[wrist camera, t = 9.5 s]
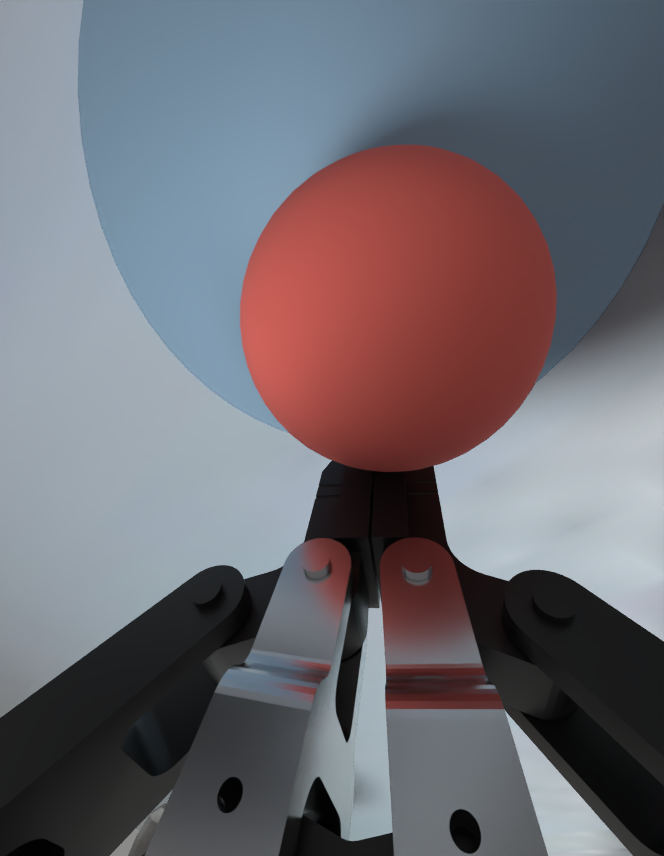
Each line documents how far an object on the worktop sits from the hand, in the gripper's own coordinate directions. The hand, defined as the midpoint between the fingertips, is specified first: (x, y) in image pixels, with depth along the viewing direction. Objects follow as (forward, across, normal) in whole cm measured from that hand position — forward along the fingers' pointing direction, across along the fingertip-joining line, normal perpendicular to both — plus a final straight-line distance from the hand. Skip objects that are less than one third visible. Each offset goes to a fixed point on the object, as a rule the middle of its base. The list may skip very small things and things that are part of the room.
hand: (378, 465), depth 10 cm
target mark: (+2, 0, -6) cm, 7 cm away
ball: (-1, -1, -4) cm, 4 cm away
